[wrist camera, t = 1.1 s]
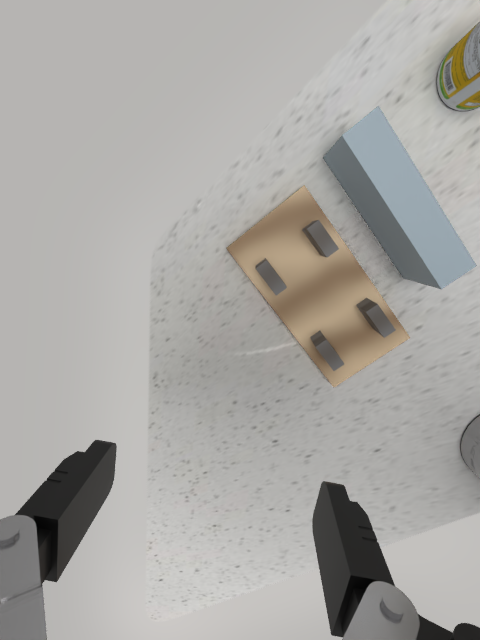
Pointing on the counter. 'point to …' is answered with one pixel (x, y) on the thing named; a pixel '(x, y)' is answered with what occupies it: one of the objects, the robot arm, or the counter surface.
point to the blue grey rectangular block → (397, 203)
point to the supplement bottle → (461, 73)
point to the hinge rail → (318, 288)
